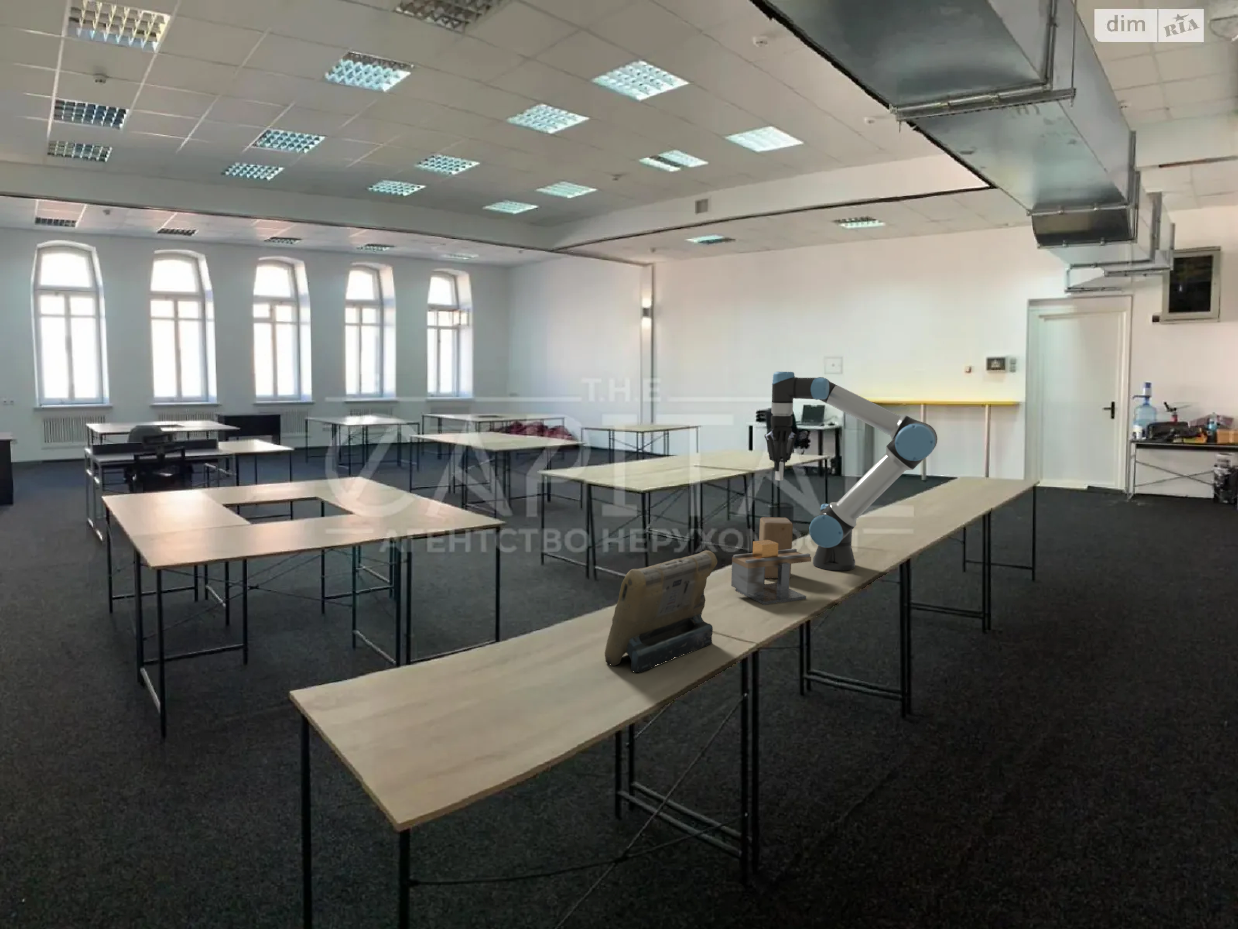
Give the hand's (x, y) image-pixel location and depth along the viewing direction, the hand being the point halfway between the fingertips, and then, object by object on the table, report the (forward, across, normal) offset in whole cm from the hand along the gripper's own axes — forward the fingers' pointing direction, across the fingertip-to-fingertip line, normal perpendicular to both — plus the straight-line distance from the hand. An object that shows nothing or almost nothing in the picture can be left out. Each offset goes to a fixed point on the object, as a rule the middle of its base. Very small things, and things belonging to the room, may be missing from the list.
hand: (779, 480), depth 274 cm
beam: (+29, +22, +28) cm, 46 cm away
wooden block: (+33, +7, +9) cm, 35 cm away
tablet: (+33, +77, +59) cm, 103 cm away
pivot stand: (+32, +22, +28) cm, 48 cm away
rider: (+20, +25, +28) cm, 42 cm away
